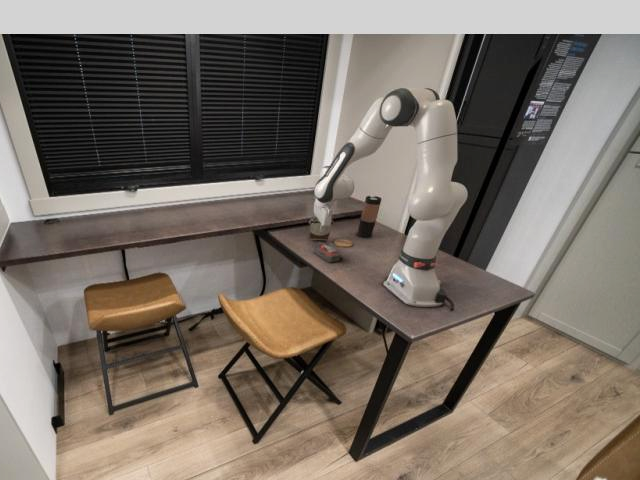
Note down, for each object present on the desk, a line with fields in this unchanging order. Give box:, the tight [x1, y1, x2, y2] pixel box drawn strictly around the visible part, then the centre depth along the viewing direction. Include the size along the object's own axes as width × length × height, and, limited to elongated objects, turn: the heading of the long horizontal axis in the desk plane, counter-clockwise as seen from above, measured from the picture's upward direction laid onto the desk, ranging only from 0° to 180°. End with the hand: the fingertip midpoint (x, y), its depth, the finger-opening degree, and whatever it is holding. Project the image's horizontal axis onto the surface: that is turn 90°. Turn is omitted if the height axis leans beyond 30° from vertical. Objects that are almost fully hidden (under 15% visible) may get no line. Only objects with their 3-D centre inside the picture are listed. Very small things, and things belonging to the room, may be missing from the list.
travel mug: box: [357, 195, 382, 239], centre depth 161 cm, size 8×8×20 cm
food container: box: [308, 216, 335, 241], centre depth 157 cm, size 12×6×10 cm, turn 85°
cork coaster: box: [333, 238, 353, 248], centre depth 157 cm, size 9×9×1 cm
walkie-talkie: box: [315, 241, 344, 263], centre depth 145 cm, size 9×4×20 cm
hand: (319, 228), depth 157 cm, fingers closed on food container, 5 cm apart
